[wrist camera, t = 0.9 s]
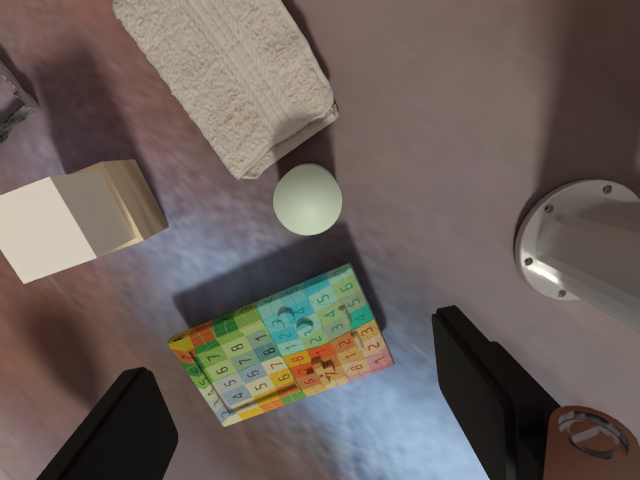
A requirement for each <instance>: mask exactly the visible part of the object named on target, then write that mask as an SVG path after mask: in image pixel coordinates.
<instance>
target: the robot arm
mask: <svg viewBox="0 0 640 480" xmlns="http://www.w3.org/2000/svg"><path fill="white" fill-rule="evenodd" d="M515 260H516V265H517V268H518V270H519V273H520V274H521V276H522V277H523V279H524V280H525V282H526V283H528V284H529V285H530V286H531V287H532V288H533V289H535V290H536V291H538V292H539V293H541V294H543V295H545V296H547V297H550V298H553V299H557V300H571V301H573V300H580V299H582V300H583V301H585V302H587V303H589V304H590V305H592V306H594V307H596V308H597V309H599V310H601V311H602V312H604V313H606V314H608V315H609V316H611V317H613V318H615V319H616V320H618V321H620V322H621V323H623V324H625V325H627V326H628V327H630V328H632V329H633V330H635V331H637V332H639V333H640V199H639V198H638V197H637V196H636V195H635V193H634V192H633V191H631V190H630V189H628V188H627V187H625V186H624V185H621V184H618V183H616V182H613V181H606V180H599V179H585V180H579V181H574V182H571V183H568V184H565V185H562V186H560V187H559V188H557V189H555V190H553V191H551V192H550V193H548V194H547V195H546V196H544V197H543V198H542V199H540V200H539V201H538V202H537V204H536V205H535V206H534V207H533V208H532V209H531V210H530V211H529V213H528V214H527V216H526V217H525V219H524V220H523V222H522V224H521V226H520V229H519V231H518V234H517V238H516V242H515ZM432 326H433V335H434V345H435V354H436V364H437V373H438V382H439V386H440V389H441V392H442V394H443V396H444V397H445V399H446V401H447V403H448V405H449V407H450V408H451V410H452V412H453V414H454V416H455V417H456V419H457V421H458V423H459V425H460V426H461V428H462V430H463V432H464V434H465V436H466V437H467V439H468V441H469V443H470V445H471V446H472V448H473V450H474V452H475V454H476V455H477V457H478V459H479V461H480V463H481V464H482V466H483V468H484V470H485V472H486V474H487V475H488V477H489V479H490V480H640V446H639V444H638V441H637V439H636V437H635V436H634V435H633V434H632V432H631V431H630V430H629V429H628V428H627V427H626V426H624V425H623V424H622V423H621V422H619V421H618V420H617V419H615V418H613V417H611V416H609V415H607V414H606V413H604V412H601V411H598V410H595V409H593V408H589V407H583V406H564V407H561V406H560V405H559V404H558V403H557V402H556V401H555V400H554V399H553V398H552V397H551V396H550V395H549V394H548V393H547V392H546V391H545V390H544V389H543V388H542V387H541V386H540V385H539V384H538V383H537V382H536V381H535V380H534V379H533V378H532V377H531V375H530V374H529V373H528V372H527V371H526V370H525V369H524V368H523V367H522V366H521V365H520V364H519V363H518V362H517V361H516V360H515V359H514V358H513V357H512V356H511V355H510V354H509V353H508V352H507V351H506V350H505V349H504V348H503V347H502V346H501V345H500V344H499V343H498V342H495V341H492V342H490V341H489V340H488V339H487V338H486V337H485V336H484V335H483V334H482V333H481V332H480V331H479V330H478V329H477V328H476V326H475V325H474V324H473V323H472V322H471V321H470V320H469V319H468V318H467V317H466V316H465V315H464V314H463V313H462V312H461V310H460V309H459V308H458V307H457V306H455V305H453V306H448V307H443V308H438V309H437V311H436V314H432ZM177 443H178V432H177V429H176V427H175V425H174V422H173V420H172V418H171V415H170V413H169V410H168V408H167V406H166V403H165V401H164V399H163V396H162V394H161V392H160V389H159V387H158V385H157V382H156V380H155V377H154V375H153V373H152V372H151V371H149V370H147V369H146V368H145V367H140V368H135V369H130V370H125V371H123V372H122V373H121V375H120V376H119V377H118V378H117V380H116V381H115V382H114V383H113V384H112V386H111V387H110V388H109V389H108V391H107V392H106V393H105V394H104V396H103V397H102V398H101V399H100V401H99V402H98V403H97V404H96V406H95V407H94V408H93V409H92V411H91V412H90V413H89V414H88V416H87V417H86V418H85V419H84V421H83V422H82V423H81V424H80V426H79V427H78V428H77V429H76V431H75V432H74V433H73V434H72V435H71V437H70V438H69V439H68V440H67V442H66V443H65V444H64V445H63V447H62V448H61V449H60V450H59V452H58V453H57V454H56V455H55V457H54V458H53V459H52V460H51V462H50V463H49V464H48V465H47V467H46V468H45V469H44V470H43V472H42V473H41V474H40V475H39V477H38V478H37V479H36V480H162V479H163V477H164V474H165V472H166V470H167V467H168V465H169V463H170V460H171V458H172V456H173V453H174V451H175V449H176V446H177Z"/></svg>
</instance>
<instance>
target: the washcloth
mask: <svg viewBox="0 0 640 480" xmlns="http://www.w3.org/2000/svg"><path fill="white" fill-rule="evenodd" d="M112 4H113V7H112V8H113V11H115V16H116V17H117V19H120V20H121V22H122V25H123V26H124V27H125V29H126V30H127V32H128V33H129V34H130V35H131V36H132V37H133V38H134V40H135V41H136V42H137V45H138V46H139V48H140V49H141V50H142V52H143V53H145V55H146V56H147V59H148V60H149V62H150V63H151V64H152V65H153V66H154V67H155V68H156V69H157V71H158V72H159V74H160V76H161V78H162V79H163V80H164V81H165V82H166V83H167V84H168V86H169V88H170V90H171V93H172V95H174V96H175V97H176V98H177V100H179V102H180V104H182V105H183V107H184V109H185V110H186V111H187V112H188V113H189V117H190V118H191V119H192V120H193V121H194V123H196V125H197V126H198V127H199V128H200V130H201V132H202V134H203V135H204V136H205V137H206V139H207V140H208V141H209V142H210V145H211V146H213V149H214V150H215V151H216V153H217V154H218V155H219V159H221V160H222V162H223V163H224V165H226V166H227V168H228V170H229V171H230V173H231V174H233V176H234V177H235V178H237V179H238V180H239V179H240V178H242V179H245V178H249V179H256V178H259V176H260V175H261V174H262V173H263V171H264V170H265V169H267V168H268V167H269V166H270V165H272V164H273V163H274V162H276V161H277V160H279V159H280V158H282V157H283V156H285V155H286V154H288V153H289V152H290V151H292V150H293V149H294V148H296V147H297V146H299V145H300V144H301V143H303V142H304V141H306V140H307V139H308V138H310V137H311V136H313V135H314V134H316V133H317V132H319V131H320V130H322V129H323V128H325V127H326V126H327V125H329V124H330V123H331V122H333V121H335V120H336V118H338V117H339V111H338V110H337V107H336V104H334V102H333V101H334V97H333V92H332V88H331V85H330V83H329V81H328V80H327V78H326V76H325V75H324V73H323V72H322V70H321V68H320V66H319V64H318V62H317V60H316V58H315V56H314V55H313V53H312V51H311V48H310V45H309V43H308V41H307V39H306V38H305V37H304V35H303V33H302V32H301V30H300V29H299V27H298V26H297V24H296V23H295V21H294V20H293V18H292V17H291V15H290V13H289V12H288V10H287V9H286V7H285V6H284V4H283V3H282V1H281V0H114V1H113V3H112Z"/></svg>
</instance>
